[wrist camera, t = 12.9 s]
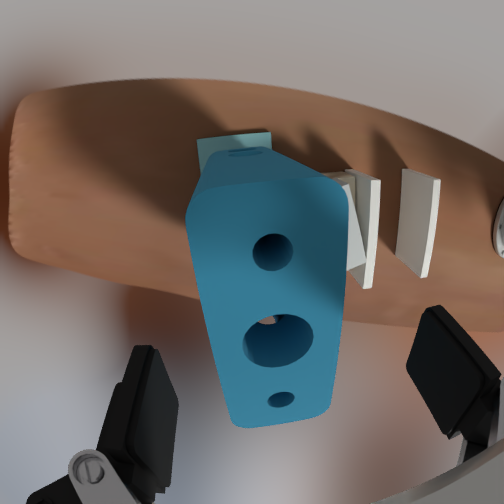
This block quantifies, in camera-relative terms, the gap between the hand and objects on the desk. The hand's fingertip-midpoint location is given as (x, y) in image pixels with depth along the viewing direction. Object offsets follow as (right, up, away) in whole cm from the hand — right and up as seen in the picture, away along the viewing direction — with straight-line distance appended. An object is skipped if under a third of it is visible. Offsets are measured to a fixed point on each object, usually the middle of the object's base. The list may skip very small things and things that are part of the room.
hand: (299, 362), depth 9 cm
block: (-3, +9, +20) cm, 22 cm away
